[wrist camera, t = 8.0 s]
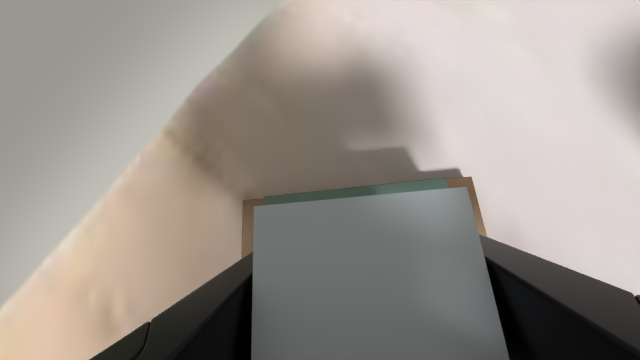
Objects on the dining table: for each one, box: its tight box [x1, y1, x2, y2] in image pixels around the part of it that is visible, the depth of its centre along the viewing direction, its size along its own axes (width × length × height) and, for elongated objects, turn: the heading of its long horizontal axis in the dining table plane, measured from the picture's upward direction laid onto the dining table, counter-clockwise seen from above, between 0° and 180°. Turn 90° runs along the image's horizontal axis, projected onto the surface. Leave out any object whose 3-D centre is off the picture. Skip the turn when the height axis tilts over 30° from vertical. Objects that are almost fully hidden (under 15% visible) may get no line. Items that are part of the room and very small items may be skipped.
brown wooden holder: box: [242, 177, 487, 258], centre depth 16 cm, size 12×16×4 cm
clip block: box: [251, 187, 510, 360], centre depth 9 cm, size 4×4×9 cm
